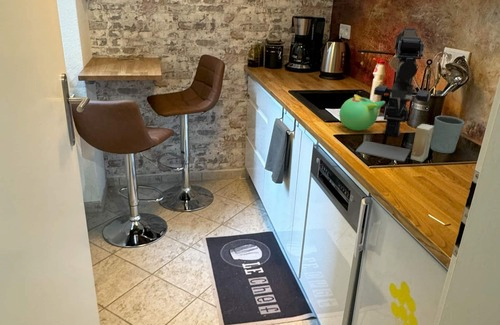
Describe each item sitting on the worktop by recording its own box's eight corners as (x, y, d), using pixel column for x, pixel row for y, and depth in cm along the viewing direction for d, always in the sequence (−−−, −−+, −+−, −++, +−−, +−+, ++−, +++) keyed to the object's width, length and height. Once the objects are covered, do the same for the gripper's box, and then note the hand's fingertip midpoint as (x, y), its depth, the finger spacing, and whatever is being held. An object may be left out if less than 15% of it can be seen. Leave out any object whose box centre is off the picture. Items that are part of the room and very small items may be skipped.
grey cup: (433, 142, 163) (439, 114, 159) (460, 149, 157) (467, 119, 153) (425, 149, 156) (431, 119, 151) (453, 156, 150) (460, 125, 145)
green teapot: (344, 120, 188) (348, 89, 182) (381, 127, 181) (387, 94, 175) (332, 131, 173) (336, 97, 168) (372, 138, 166) (377, 103, 160)
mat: (364, 141, 162) (364, 140, 162) (410, 150, 155) (410, 149, 154) (355, 151, 152) (355, 150, 152) (404, 161, 144) (404, 160, 144)
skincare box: (415, 154, 151) (422, 122, 146) (427, 157, 149) (434, 125, 144) (409, 159, 146) (416, 126, 142) (422, 162, 144) (428, 129, 139)
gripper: (373, 74, 143) (367, 116, 149) (429, 80, 134) (420, 125, 140) (380, 69, 152) (374, 110, 158) (434, 75, 143) (425, 117, 149)
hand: (397, 115), depth 151 cm, fingers closed
